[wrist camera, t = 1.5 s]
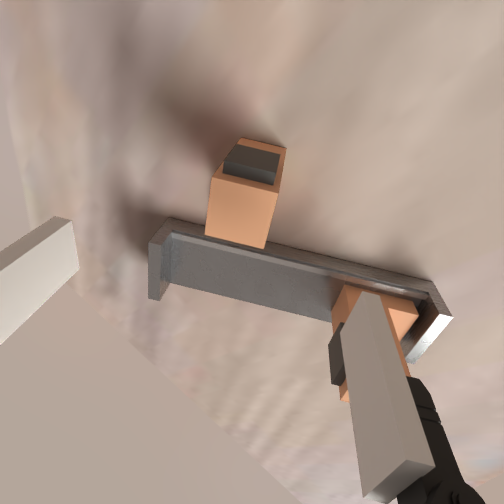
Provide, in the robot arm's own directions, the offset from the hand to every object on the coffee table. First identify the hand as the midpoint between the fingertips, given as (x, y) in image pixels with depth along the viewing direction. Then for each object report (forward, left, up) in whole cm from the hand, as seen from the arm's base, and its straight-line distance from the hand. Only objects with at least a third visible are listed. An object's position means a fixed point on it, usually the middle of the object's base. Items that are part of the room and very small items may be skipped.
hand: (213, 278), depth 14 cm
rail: (+11, +6, -16) cm, 20 cm away
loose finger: (+1, 0, -16) cm, 16 cm away
